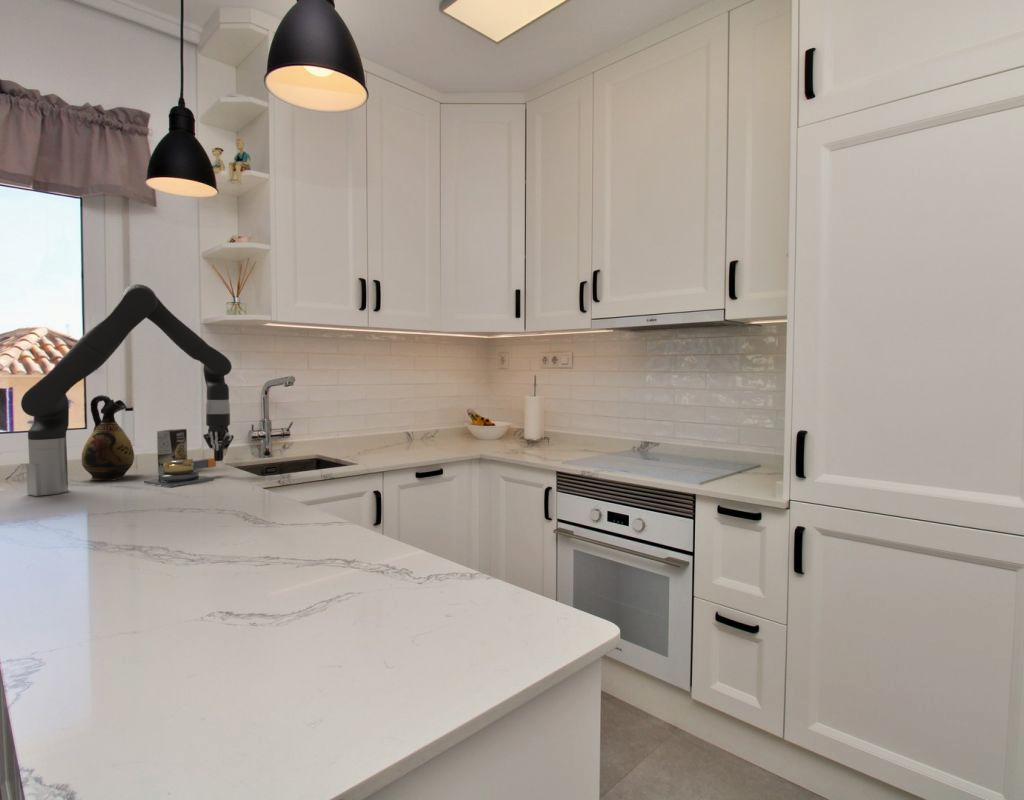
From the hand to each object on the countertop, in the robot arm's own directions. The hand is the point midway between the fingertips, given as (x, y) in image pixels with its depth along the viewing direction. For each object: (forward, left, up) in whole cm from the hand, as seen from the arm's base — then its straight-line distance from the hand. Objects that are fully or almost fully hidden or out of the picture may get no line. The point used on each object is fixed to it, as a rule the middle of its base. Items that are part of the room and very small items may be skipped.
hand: (218, 460), depth 201 cm
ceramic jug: (-19, +36, -6) cm, 41 cm away
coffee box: (+1, +30, -7) cm, 31 cm away
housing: (-11, +6, -6) cm, 14 cm away
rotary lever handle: (-7, +6, -3) cm, 9 cm away
